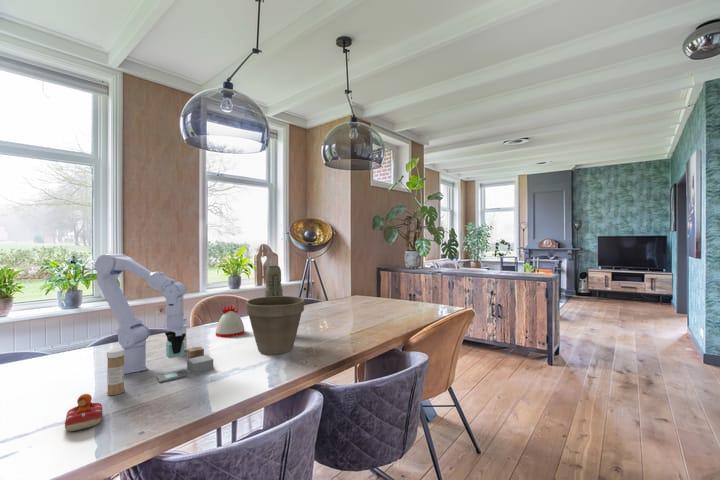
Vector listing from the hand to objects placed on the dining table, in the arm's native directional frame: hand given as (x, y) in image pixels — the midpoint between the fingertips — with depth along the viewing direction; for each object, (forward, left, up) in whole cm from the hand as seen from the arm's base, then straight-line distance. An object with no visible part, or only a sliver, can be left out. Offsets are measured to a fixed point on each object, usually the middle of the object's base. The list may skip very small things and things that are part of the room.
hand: (175, 351), depth 131 cm
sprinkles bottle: (-19, -12, -7) cm, 23 cm away
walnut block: (+8, +4, -7) cm, 11 cm away
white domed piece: (+33, +39, -7) cm, 52 cm away
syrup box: (+5, +23, -7) cm, 24 cm away
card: (-3, -9, -6) cm, 11 cm away
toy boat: (-27, -30, -7) cm, 41 cm away
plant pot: (+39, -3, -7) cm, 40 cm away
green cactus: (+49, +21, -7) cm, 54 cm away
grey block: (+7, -7, -7) cm, 12 cm away
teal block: (0, 0, -2) cm, 2 cm away
